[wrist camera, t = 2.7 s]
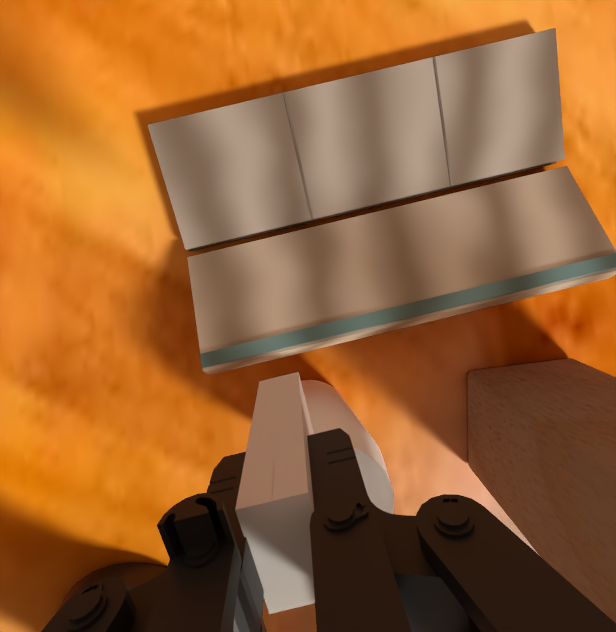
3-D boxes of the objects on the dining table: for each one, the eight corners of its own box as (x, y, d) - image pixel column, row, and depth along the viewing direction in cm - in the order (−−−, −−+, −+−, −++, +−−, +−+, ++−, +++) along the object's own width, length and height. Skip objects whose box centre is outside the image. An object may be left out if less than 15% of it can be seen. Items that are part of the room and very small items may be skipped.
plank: (210, 375, 27) (202, 370, 25) (194, 266, 30) (186, 256, 28) (609, 277, 27) (627, 267, 25) (555, 179, 30) (567, 164, 28)
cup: (259, 458, 34) (246, 574, 23) (259, 366, 32) (244, 440, 21) (356, 457, 35) (391, 569, 23) (361, 366, 33) (403, 438, 21)
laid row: (191, 250, 30) (185, 251, 28) (154, 130, 28) (147, 124, 26) (550, 164, 30) (565, 160, 29) (540, 39, 28) (556, 27, 27)
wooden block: (464, 369, 34) (712, 554, 14) (571, 355, 34) (956, 519, 14) (466, 466, 36) (682, 742, 16) (566, 452, 36) (894, 707, 17)
